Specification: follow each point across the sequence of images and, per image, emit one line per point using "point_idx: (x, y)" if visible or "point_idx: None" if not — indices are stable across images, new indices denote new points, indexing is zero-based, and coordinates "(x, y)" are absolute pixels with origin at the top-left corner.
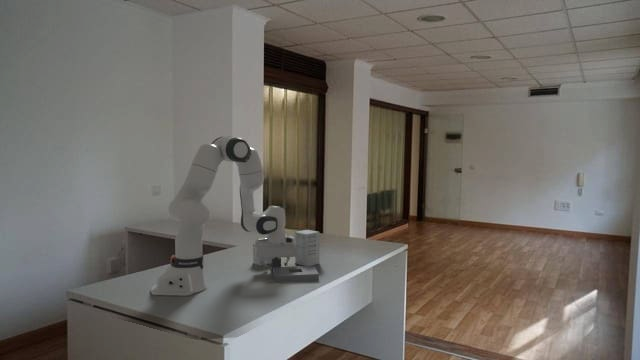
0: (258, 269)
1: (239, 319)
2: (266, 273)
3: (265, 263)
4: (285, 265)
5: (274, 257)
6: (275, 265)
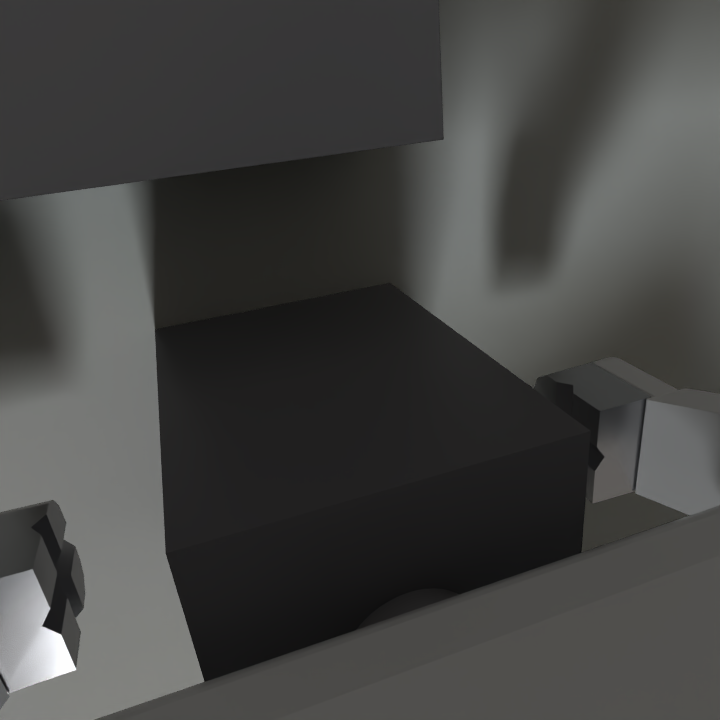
0: None
1: None
2: (524, 126)
3: (668, 389)
4: (14, 510)
5: (539, 570)
6: (359, 358)
